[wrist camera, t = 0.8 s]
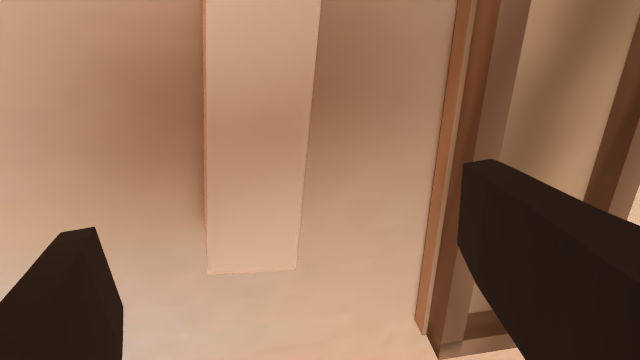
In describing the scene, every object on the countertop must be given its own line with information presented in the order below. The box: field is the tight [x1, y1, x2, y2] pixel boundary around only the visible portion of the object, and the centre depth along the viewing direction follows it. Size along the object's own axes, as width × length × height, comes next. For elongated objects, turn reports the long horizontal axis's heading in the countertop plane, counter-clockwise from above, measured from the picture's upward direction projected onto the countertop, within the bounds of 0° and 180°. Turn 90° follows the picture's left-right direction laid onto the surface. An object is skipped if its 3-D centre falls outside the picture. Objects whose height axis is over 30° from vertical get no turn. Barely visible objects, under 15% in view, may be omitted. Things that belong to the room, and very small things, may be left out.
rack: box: [415, 0, 640, 360], centre depth 22 cm, size 8×20×2 cm, turn 179°
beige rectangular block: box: [203, 0, 321, 275], centre depth 18 cm, size 3×12×4 cm, turn 174°
